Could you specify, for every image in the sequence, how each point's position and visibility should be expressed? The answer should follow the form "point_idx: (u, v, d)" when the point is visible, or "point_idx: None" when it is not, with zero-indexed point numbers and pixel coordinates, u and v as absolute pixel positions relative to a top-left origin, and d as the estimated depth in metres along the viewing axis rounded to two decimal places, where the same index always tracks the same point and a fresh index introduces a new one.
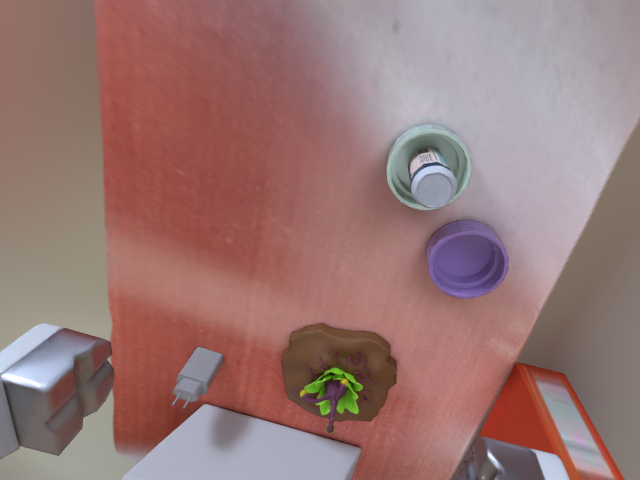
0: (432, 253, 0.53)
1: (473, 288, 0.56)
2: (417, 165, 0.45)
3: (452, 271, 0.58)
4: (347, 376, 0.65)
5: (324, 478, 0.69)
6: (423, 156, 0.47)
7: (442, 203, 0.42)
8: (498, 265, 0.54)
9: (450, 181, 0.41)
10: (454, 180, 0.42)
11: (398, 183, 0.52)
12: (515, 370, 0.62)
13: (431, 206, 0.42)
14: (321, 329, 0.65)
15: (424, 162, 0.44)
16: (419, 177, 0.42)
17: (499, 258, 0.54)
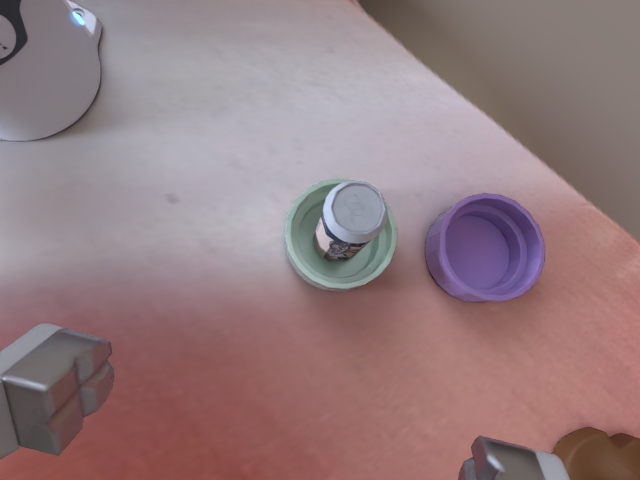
0: (456, 280, 0.36)
1: (529, 257, 0.39)
2: (321, 229, 0.32)
3: (494, 277, 0.40)
4: None
5: None
6: None
7: (382, 208, 0.28)
8: (506, 215, 0.40)
9: (356, 184, 0.28)
10: (358, 182, 0.29)
11: (340, 279, 0.37)
12: None
13: (379, 223, 0.28)
14: None
15: None
16: (331, 219, 0.28)
17: (497, 210, 0.40)
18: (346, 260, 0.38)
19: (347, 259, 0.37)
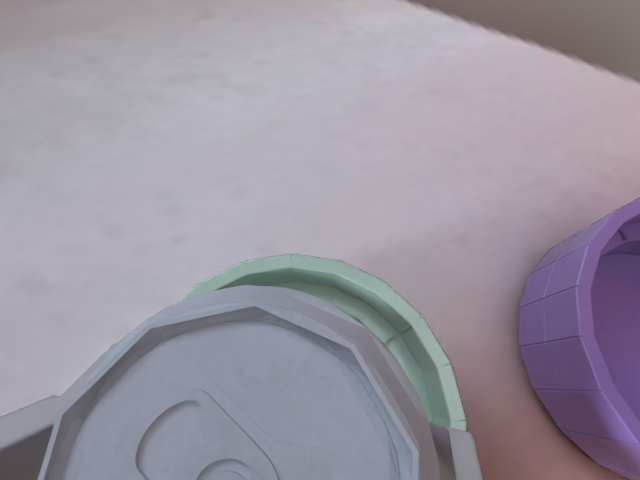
0: None
1: None
2: None
3: None
4: None
5: None
6: None
7: (392, 441, 0.04)
8: None
9: (196, 324, 0.05)
10: (227, 296, 0.05)
11: None
12: None
13: None
14: None
15: None
16: None
17: None
18: None
19: None
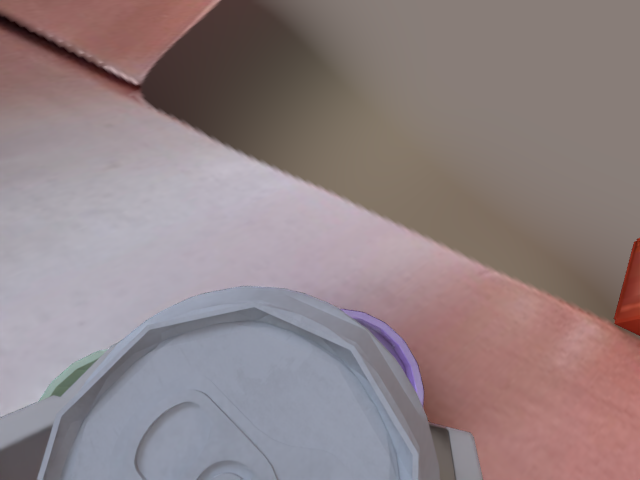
0: None
1: None
2: None
3: None
4: None
5: None
6: None
7: (392, 443, 0.04)
8: None
9: (195, 326, 0.05)
10: (227, 297, 0.05)
11: None
12: (634, 327, 0.29)
13: None
14: None
15: None
16: None
17: None
18: None
19: None
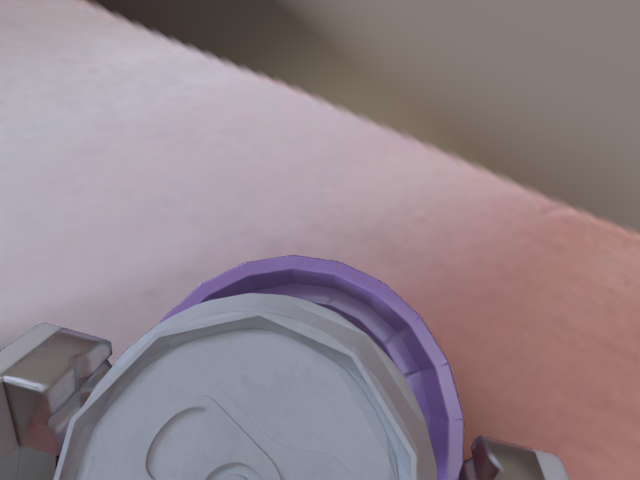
0: None
1: (431, 406, 0.13)
2: None
3: None
4: None
5: None
6: None
7: (391, 445, 0.04)
8: (344, 297, 0.15)
9: (202, 333, 0.05)
10: (231, 304, 0.05)
11: None
12: None
13: None
14: None
15: None
16: None
17: (318, 290, 0.15)
18: None
19: None
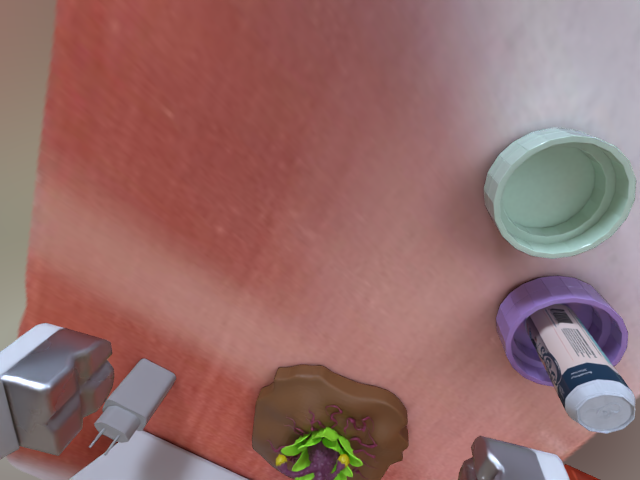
0: (520, 317, 0.36)
1: None
2: (569, 353, 0.33)
3: (525, 339, 0.42)
4: (343, 443, 0.48)
5: None
6: (572, 334, 0.34)
7: (607, 429, 0.30)
8: None
9: (632, 410, 0.29)
10: (633, 405, 0.30)
11: (501, 207, 0.34)
12: None
13: (589, 428, 0.30)
14: (322, 375, 0.47)
15: (585, 357, 0.32)
16: (589, 392, 0.29)
17: (604, 340, 0.38)
18: (530, 338, 0.40)
19: (532, 342, 0.39)
